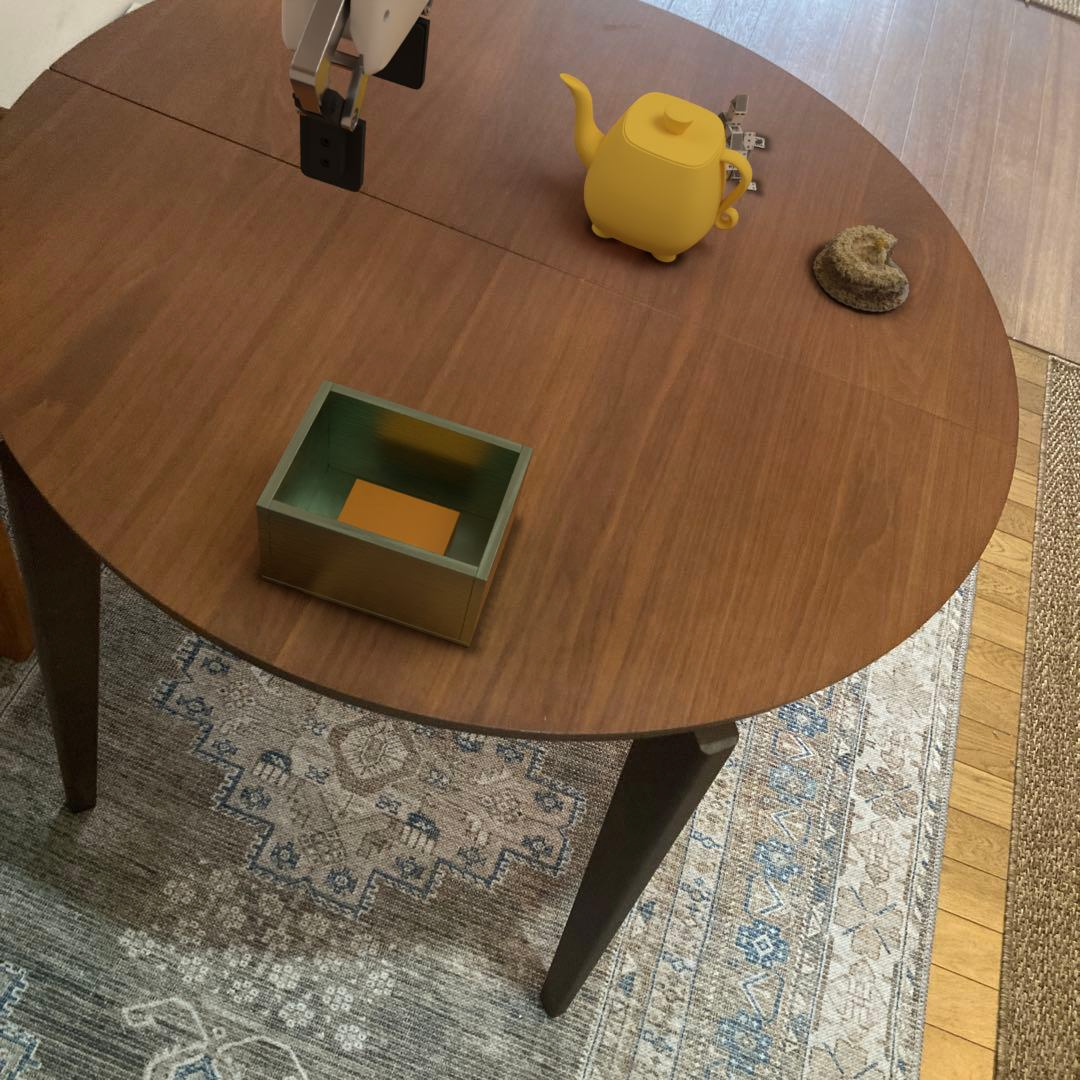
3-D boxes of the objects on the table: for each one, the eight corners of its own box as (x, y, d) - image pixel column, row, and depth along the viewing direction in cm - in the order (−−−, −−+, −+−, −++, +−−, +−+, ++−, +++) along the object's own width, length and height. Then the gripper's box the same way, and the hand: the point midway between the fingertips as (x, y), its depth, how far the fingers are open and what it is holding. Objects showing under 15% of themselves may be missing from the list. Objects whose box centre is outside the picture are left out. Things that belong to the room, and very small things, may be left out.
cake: (823, 316, 101) (842, 274, 97) (801, 246, 107) (817, 203, 102) (920, 317, 103) (942, 275, 98) (893, 248, 108) (913, 206, 104)
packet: (328, 558, 76) (328, 536, 73) (355, 501, 79) (356, 478, 76) (432, 593, 76) (436, 572, 73) (455, 534, 79) (460, 512, 76)
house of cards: (790, 190, 110) (819, 128, 104) (716, 191, 108) (740, 127, 102) (762, 136, 115) (788, 73, 109) (690, 135, 113) (713, 71, 106)
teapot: (706, 297, 99) (752, 188, 88) (513, 220, 100) (536, 103, 89) (739, 214, 107) (786, 105, 96) (560, 143, 108) (587, 27, 97)
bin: (261, 579, 74) (255, 504, 66) (322, 459, 81) (323, 378, 73) (468, 647, 74) (486, 580, 66) (512, 522, 81) (534, 448, 73)
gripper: (369, -331, 47) (356, 26, 61) (199, -183, 37) (231, 202, 51) (526, -279, 47) (477, 66, 61) (398, -118, 37) (375, 249, 51)
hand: (365, 128), depth 56 cm, fingers open, 9 cm apart
